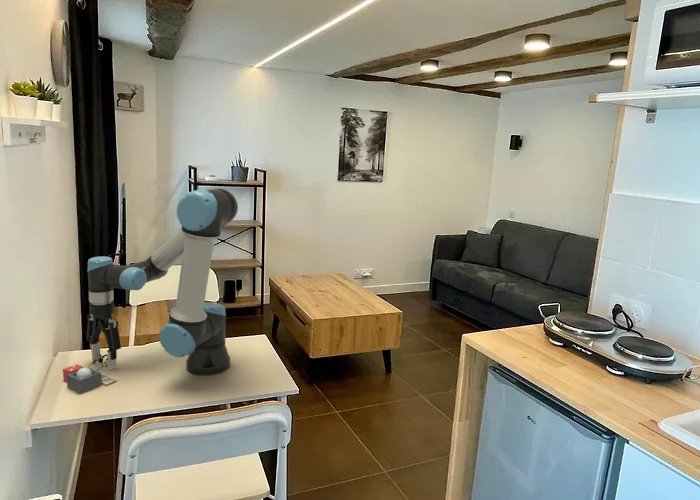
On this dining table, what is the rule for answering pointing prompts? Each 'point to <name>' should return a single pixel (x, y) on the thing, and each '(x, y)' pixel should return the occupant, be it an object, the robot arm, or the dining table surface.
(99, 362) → the creature
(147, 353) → the dining table surface
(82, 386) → the dome housing
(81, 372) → the dome
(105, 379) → the track strip
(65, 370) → the red die
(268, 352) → the dining table surface
